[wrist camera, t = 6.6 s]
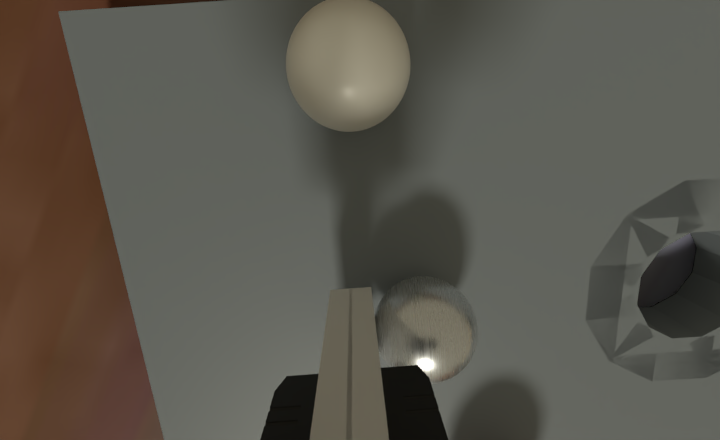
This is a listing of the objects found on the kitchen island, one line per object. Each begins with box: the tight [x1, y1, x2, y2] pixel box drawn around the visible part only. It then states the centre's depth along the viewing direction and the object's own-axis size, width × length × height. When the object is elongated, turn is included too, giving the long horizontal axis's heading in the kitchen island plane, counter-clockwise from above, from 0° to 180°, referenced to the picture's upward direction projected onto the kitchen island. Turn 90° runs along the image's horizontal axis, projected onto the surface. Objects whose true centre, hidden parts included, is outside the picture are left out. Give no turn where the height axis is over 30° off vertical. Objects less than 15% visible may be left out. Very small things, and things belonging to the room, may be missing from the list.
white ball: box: [286, 0, 411, 132], centre depth 10 cm, size 4×4×4 cm
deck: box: [59, 0, 720, 440], centre depth 15 cm, size 32×22×2 cm
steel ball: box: [375, 276, 478, 384], centre depth 12 cm, size 4×4×4 cm
